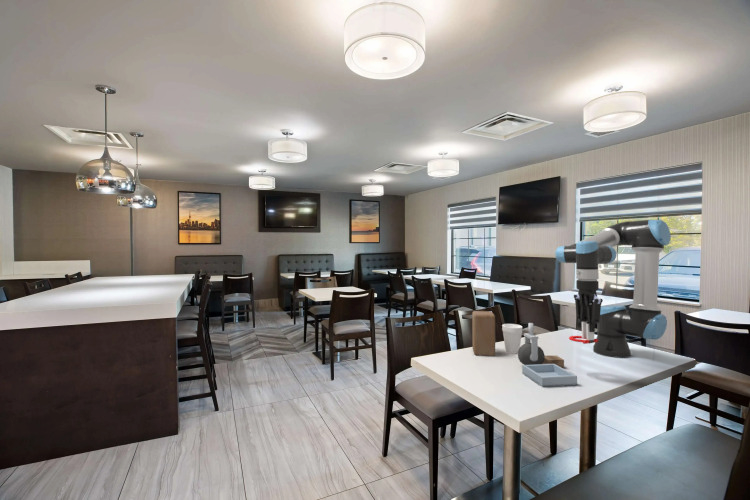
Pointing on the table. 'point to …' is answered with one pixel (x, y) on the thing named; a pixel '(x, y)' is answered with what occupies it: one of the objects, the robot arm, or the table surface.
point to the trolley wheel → (531, 349)
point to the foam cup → (512, 337)
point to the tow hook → (582, 338)
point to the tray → (549, 375)
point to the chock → (554, 361)
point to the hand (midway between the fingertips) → (588, 338)
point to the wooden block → (483, 333)
